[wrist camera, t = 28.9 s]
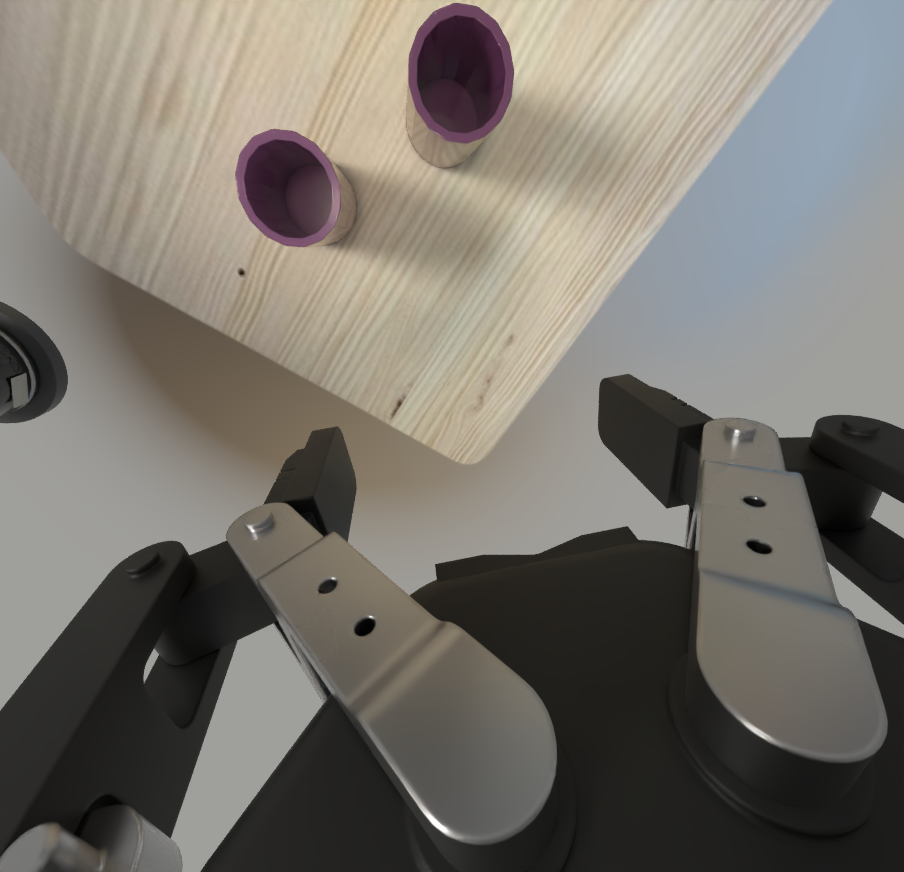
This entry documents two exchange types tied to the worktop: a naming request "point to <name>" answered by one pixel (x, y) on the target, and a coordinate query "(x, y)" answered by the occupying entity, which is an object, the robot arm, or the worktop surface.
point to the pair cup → (294, 190)
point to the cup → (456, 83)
